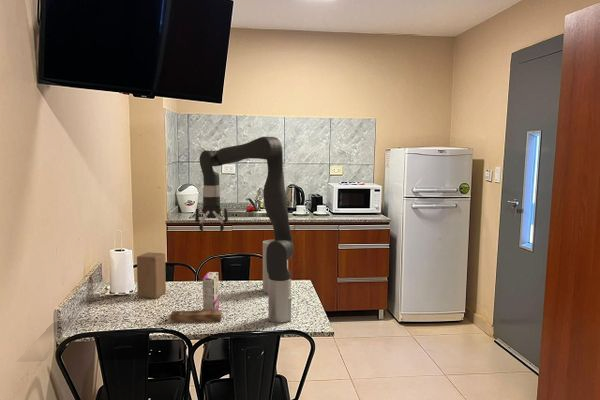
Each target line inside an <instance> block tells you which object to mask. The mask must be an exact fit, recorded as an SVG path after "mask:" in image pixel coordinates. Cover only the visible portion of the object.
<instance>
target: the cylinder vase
mask: <svg viewBox="0 0 600 400" xmlns="http://www.w3.org/2000/svg"><path fill="white" fill-rule="evenodd" d="M273 241H275V239H267V240H263V241H262V292H263V293H264V294H267V295H268V293H269V275H268V272H267V265H266V250H267V247H268V245H269V244H270V243H271V242H273ZM287 269H288V270H289V259H288V260H287Z"/></svg>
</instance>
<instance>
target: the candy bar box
mask: <svg viewBox="0 0 600 400" xmlns="http://www.w3.org/2000/svg"><path fill="white" fill-rule="evenodd" d="M219 285H220V284H219V272H218V271H208V272H207V273H206V274H205V275H204V276H203V278H202V303H203V304H202V307H203V309H202V311H208V310H211V311H219V309H220V300H219V299H220V297H219V295H220V293H219V292H220V291H219V290H220V288H219Z"/></svg>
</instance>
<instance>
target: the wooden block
mask: <svg viewBox="0 0 600 400" xmlns="http://www.w3.org/2000/svg"><path fill="white" fill-rule="evenodd" d="M136 275H137V277H136V278H137V280H136V281H137V285H136V286H137V297H138V298H143V299H154V300H155V299H158V298H160V297H162V296H163V295H165V294H166V291H167V288H166V287H167V286H166V285H167V283H166V276H167V275H166V254H165V253H164V252H163V253H162V252H150V251H149V252H145V253H142V254H140V255H138V256H137V257H136Z"/></svg>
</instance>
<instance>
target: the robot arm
mask: <svg viewBox="0 0 600 400" xmlns="http://www.w3.org/2000/svg"><path fill="white" fill-rule="evenodd" d="M283 153H284V152H283V146H282V142H281V140H280V139H279V138H278V137H275V136H260V137H258V138H256V139H253V140H251V141H248V142H246V143H242V144H238V145H233V146H225V147H222V148H220V149H217V150H203V151H202V152H201V153H200V155H199V159H198V160H199V166H200V170H201V173H202V175H203V182H202V183H203V187H202V208H199V207H197V208H196V209H195V215H194V216H195V217H194V222H195V223H199V226H198V227H199V228H198V229H199V231H200V232H201V233H203V232H204V221H205V220H206V218H207V219H217V220H218V221H219V223H220V224H219V226H220V227H219V228H220V229H219V231H220V232H221V233H222V232H223V231H224V229H225V228H224V227H225V226H224V225H225V223H227V222H228V221H229V216H228V215H229V214H228V213H229V212H228V208H226V207H225V208H221V187H220V174H219V173H218V172H216V171H215V170H214V168H213V167H219V166H223V165H227V164H228V165H229V164H234V163H238V162H242V161H244V160H248V159H249V160H250V159H258V160H266V163H267V176H266V180H265V183H264V187H263V192H262V195H263V205H264V209H265V212H266V215H267V217H268V219H269V220H270V222H271V224H272V228H273V229H272V230H273V234H274V235H273V236H274V240H275V241H273V242H271V243H270V244H269V245H268V247H267V250H266V265H267V272H268V275H269V293H268V294H267V295H268V301H267V303H268V305H267V306H268V307H267V308H268V309H267V310H268V312H267V313H268V314H267V317H268V318H267V319H268V321H270V322H272V323H278V324H279V323H281V324H283V323H287V322H292V295H291V294H292V272H291V271H290V270H289V268H288V269H287V260H288V261H289V260H290V259H291V258H292V257H293V256H294V254H295V245H294V241H293V236H292V232H291V227H290V220H289V219H290V218H289V213H288V211H289V210H288V202H287V194H286V193H287V192H286V188H285V187H286V186H285V179H284V178H285V177H284V164H283V163H284V161H283V160H284V158H283V156H284V155H283ZM201 212H202V214H203V216H202V218H201V219H200V214H201ZM221 212H222V214H223V215H224V219H223V218H222V216H221V215H220V214H221Z"/></svg>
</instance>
